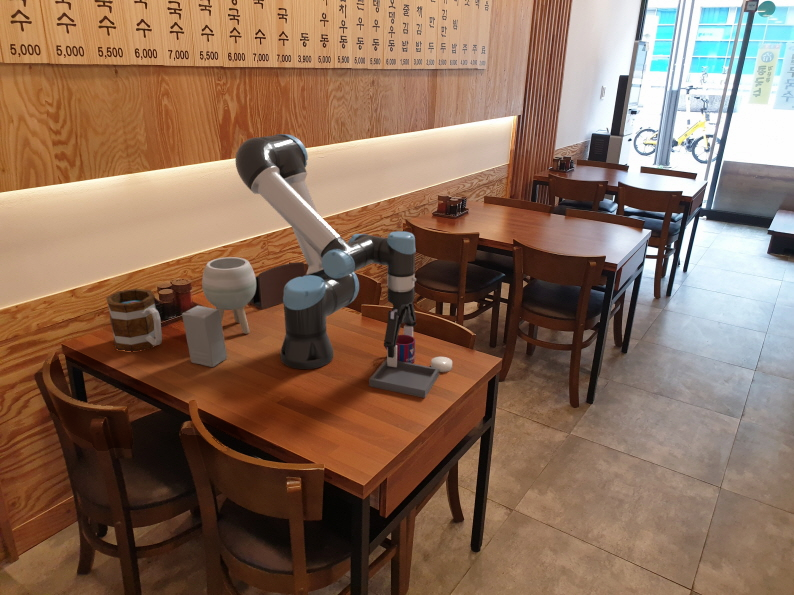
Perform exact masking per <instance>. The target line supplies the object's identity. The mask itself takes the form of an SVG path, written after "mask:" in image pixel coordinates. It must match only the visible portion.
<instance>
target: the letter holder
mask: <svg viewBox="0 0 794 595" xmlns="http://www.w3.org/2000/svg"><path fill="white" fill-rule="evenodd" d="M303 276H306V265H305V263H304V262H302V261H301V262H299V261H298V262H292V263H287V264H281V265H278V266H274V267H272V268H269V269H267V270H264V271H262V272H260V273H258V275H257V276H255V278H256V291H255V294H254V296H253V298H252V299H251V301H250V302H249V303H248V304H249V305H251V306H253V307H255V308H257V309H259V310H266V309H269V308H272V307H275V306H278V305H281V304H284V303H283V296H284V287H285V285H286V284H287V283H288V282H289V281H290V280H292V279H294V278H297V277H303Z"/></svg>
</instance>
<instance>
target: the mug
mask: <svg viewBox="0 0 794 595" xmlns="http://www.w3.org/2000/svg"><path fill="white" fill-rule="evenodd" d="M105 299H106V302H107V305H108V310H109V321H110V325H111V326H110V327H111V329H112V334H113V345H114V344H115V345H114V347H115V346H116V348H115V350H116V349H118V350H125V351H131V352H133V351H138V352H141V351H140V350H142V351H145V350H144V349H147V350H151V349H152V348H154V347H155V346H158V345H161V344H162V340H163V333H162V325H161V323H162V322H161V317H160V313H159V311H158V309H157V308H156V305H155V304H156V302H155V294H154V293H153V291H152V290H151V289H143V288H130V289H125V290H120V291H116V292H113V293H112V294H110V295H108V296H106V298H105ZM153 346H154V347H153ZM150 348H151V349H150ZM131 352H130V353H131ZM133 353H134V352H133Z"/></svg>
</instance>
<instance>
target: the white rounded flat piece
mask: <svg viewBox="0 0 794 595" xmlns="http://www.w3.org/2000/svg"><path fill="white" fill-rule="evenodd" d="M430 361H431V362H430V367H433V368H438V369H439V373H447V372H449V371H452V369H453V360H452V359H451V358H449V357H446V356H435V357H433V358H431V360H430Z"/></svg>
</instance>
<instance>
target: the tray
mask: <svg viewBox="0 0 794 595" xmlns="http://www.w3.org/2000/svg"><path fill="white" fill-rule="evenodd" d="M439 377H440V372H439V369H438V368H433V367H431V366H428V365H422V364H416V363H413V364H412V363H407V362H402V361H397V367H390V366H387V358H386V359H385V360H384V361H383V362H382V363H381V364H380V366H379V367H378V368H377V369H376V370H375V372H374V373H373V374H372V375H371V376H370V377H369V379H368V380H369V381H368V386H369V387H371V388H376V389H381V390H385V391H390V392H395V393H400V394H403V395H409V396H414V397H419V398H423V399H425V398H426V397H427V395H428V394H429V392H430V390H431V389H432V387H433V386H434V384H435V382H436V381H437V379H438V378H439Z"/></svg>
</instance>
